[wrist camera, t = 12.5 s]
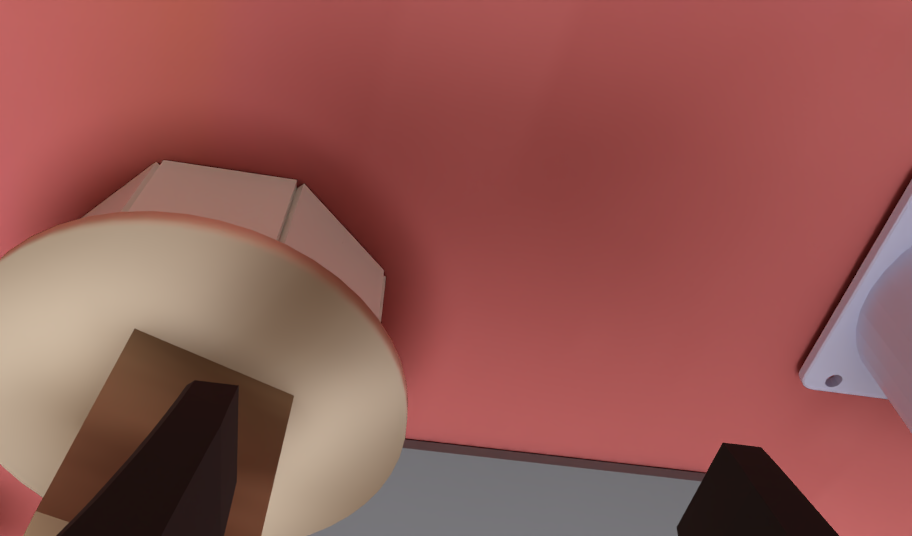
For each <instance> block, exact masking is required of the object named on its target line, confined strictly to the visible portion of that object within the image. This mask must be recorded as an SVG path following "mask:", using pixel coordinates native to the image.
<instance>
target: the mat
mask: <svg viewBox="0 0 912 536" xmlns="http://www.w3.org/2000/svg"><path fill="white" fill-rule="evenodd" d="M705 474H706V473H697V472H688V471H680V470H671V469H662V468H653V467H644V466H636V465H627V464H618V463H609V462H600V461H592V460H583V459H574V458H565V457H556V456H547V455H539V454H530V453H521V452H512V451H503V450H495V449H486V448H477V447H468V446H459V445H450V444H442V443H433V442H424V441H415V440H406V439H405V440H404V444H403V447H402V450H401V454H400V457H399V459H398V461H397V463H396V465H395V467H394V469H393V471H392V473H391V475H390V476H389V478H388V479H387V480H386V482H385V483H384V484H383V486H382V487H381V488H380V490H379V491H378V492H377V493H376V494H375V495H374V496H373V497H372V498H371V499H370V500H369V501H368V502H367V503H366V504H364V505H363V506H362V507H360V508H359V509H358V510H356V511H355V512H354V513H352V514H351V515H349V516H348V517H346V518H344V519H343V520H341V521H339V522H337V523H335V524H334V525H332V526H330V527H328V528H325V529H323V530H320V531H318V532H315V533H313V534H311V535H308V536H678V533H677V525H678V524H679V522H680V520H681V518H682V516H683V514H684V513H685V511H686V509H687V507H688V505H689V504H690V502H691V500H692V498H693V496H694V494H695V493H696V491H697V489H698V487H699V485H700V484H701V482H702V480H703V478H704V476H705Z"/></svg>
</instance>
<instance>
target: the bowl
mask: <svg viewBox="0 0 912 536" xmlns="http://www.w3.org/2000/svg"><path fill="white" fill-rule="evenodd" d="M135 211H158V212H170V213H181V214H190V215H195V216H200V217H205V218H210V219H215V220H220V221H224V222H227V223H231V224H234V225H237V226H240V227H244V228H247V229H250V230H253V231H256V232H258V233H261V234H263V235H265V236H268V237H270V238H272V239H275V240H277V241H279V242H282V243H284V244H286V245H288V246H290V247H292V248H293V249H295V250H297V251H299V252H301V253H302V254H304V255H306V256H308V257H309V258H311V259H313V260H315V261H316V262H317V263H319V264H320V265H322V266H323V267H324V268H326V269H327V270H329V271H330V272H331V273H333V274H334V275H336V276H337V277H338V278H340V279H341V280H342V281H343V282H344V283H345V284H346V285H347V286H348V287H349V288H351V289H352V290H353V291H354V292H355V293H356V294H357V295H358V296H359V297H360V298H361V299H362V300H363V301H364V302H365V303H366V305H367V306H368V307H369V308H370V309H371V311H372V312H373V313H374V314H375V315H376V316H377V318H378V319H379V321H380V322H381V317H382V308H383V299H384V290H385V281H386V276H384V270H383V269H382V268H381V266H380V265H379V264H378V263H377V262H376V261H375V260H374V259H373V258H372V257H371V256H370V255H369V253H368V252H367V251H366V250H365V249H364V248H363V247H362V246H361V245H360V244H359V243H358V242H357V240H356V239H355V238H354V237H353V236H352V235H351V234H350V233H349V232H348V231H347V230H346V228H345V227H344V226H343V225H342V224H341V223H340V222H339V221H338V220H337V219H336V218H335V217H334V215H333V214H332V213H331V212H330V211H329V210H328V209H327V208H326V207H325V206H324V205H323V203H322V202H321V201H320V200H319V199H318V198H317V197H316V196H315V195H314V194H313V193H312V192H311V190H310V189H309V188H308V187H307V186H306V185H305V184H303V185H301V186H300V187H298V188H297V180H295V179H288V178H281V177H274V176H268V175H261V174H254V173H248V172H241V171H234V170H228V169H221V168H214V167H208V166H201V165H194V164H188V163H181V162H174V161H168V160H163V161H162V163H161V164H160V165H159V164H158V163H157V162H155V163H153V164H152V165H151V166H150V167H148V168H147V169H146V170H144V171H143V172H142V173H140V174H139V175H138V176H136V177H135V178H134V179H132V180H131V181H130V182H128V183H127V184H126V185H124V186H123V187H122V188H120V189H119V190H118V191H116V192H115V193H114V194H112V195H111V196H110V197H108V198H107V199H106V200H104V201H103V202H102V203H100V204H99V205H98V206H96V207H95V208H94V209H92V210H91V211H90V212H88V213H87V214H86V215H84V216H83V217H82V218H84V217H88V216H94V215H101V214H108V213H115V212H135Z"/></svg>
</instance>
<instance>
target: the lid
mask: <svg viewBox="0 0 912 536" xmlns="http://www.w3.org/2000/svg"><path fill="white" fill-rule="evenodd" d="M194 380H198V381H206V382H214V383H223V384H231V385H239V399H238V450H237V483H236V487H235V491H234V496H233V500H232V504H231V509H230V513H229V517H228V521H227V526H226V530H225V534H224V536H308V535H311V534H313V533H315V532H318V531H320V530H323V529H325V528H328V527H330V526H332V525H334V524H335V523H337V522H339V521H341V520H343V519H344V518H346V517H348V516H349V515H351V514H352V513H354V512H355V511H356V510H358V509H359V508H360V507H362V506H363V505H364V504H366V503H367V502H368V501H369V500H370V499H371V498H372V497H373V496H374V495H375V494H376V493H377V492H378V491H379V490H380V488H381V487H382V486H383V484H384V483H385V482H386V480H387V479H388V478H389V476H390V475H391V473H392V471H393V469H394V467H395V465H396V463H397V461H398V459H399V457H400V454H401V450H402V447H403V444H404V440H405V433H406V424H407V410H408V397H407V384H406V379H405V375H404V371H403V367H402V363H401V360H400V358H399V355H398V353H397V351H396V349H395V346H394V344H393V342H392V340H391V338H390V336H389V335H388V333H387V332H386V330H385V328H384V327H383V325H382V324H381V322H380V321H379V319H378V318H377V316H376V315H375V314H374V313H373V312H372V311H371V309H370V308H369V307H368V306H367V305H366V303H365V302H364V301H363V300H362V299H361V298H360V297H359V296H358V295H357V294H356V293H355V292H354V291H353V290H352V289H351V288H349V287H348V286H347V285H346V284H345V283H344V282H343V281H342V280H341V279H340V278H338V277H337V276H336V275H334V274H333V273H331V272H330V271H329V270H327V269H326V268H324V267H323V266H322V265H320V264H319V263H317V262H316V261H315V260H313V259H311V258H309V257H308V256H306V255H304V254H302V253H301V252H299V251H297V250H295V249H293V248H292V247H290V246H288V245H286V244H284V243H282V242H279V241H277V240H275V239H272V238H270V237H268V236H265V235H263V234H261V233H258V232H256V231H253V230H250V229H247V228H244V227H240V226H237V225H234V224H231V223H227V222H224V221H220V220H215V219H210V218H205V217H200V216H195V215H190V214H181V213H170V212H158V211H135V212H115V213H108V214H101V215H94V216H88V217H84V218H80V219H77V220H73V221H70V222H66V223H62V224H59V225H56V226H54V227H52V228H49V229H47V230H45V231H43V232H40V233H38V234H36V235H33V236H31V237H30V238H28V239H27V240H25V241H24V242H22V243H20V244H19V245H17V246H16V247H14V248H13V249H11V250H10V251H8V252H7V253H6V254H5V255H4V256H3V257H2V258H1V259H0V464H1V465H2V466H3V467H4V468H5V469H6V470H7V471H9V472H10V473H11V474H12V475H13V476H14V477H16V478H17V479H18V480H19V481H20V482H21V483H23V484H24V485H26V486H27V487H28V488H30V489H31V490H33V491H34V492H36V493H37V494H38V495H40V496H41V497H43V499H42V501H41V502H40V504H39V506H38V508H37V510H36V512H35V514H34V516H33V518H32V520H31V522H30V524H29V526H28V528H27V530H26V532H25V534H24V536H56V535H57V534H58V533H59V532H60V531H61V530H62V529H63V528H64V527H65V526H66V525H67V524H68V523H69V522H70V521H71V520H72V519H73V518H74V517H75V516H76V515H77V514H78V513H79V512H80V511H81V510H82V509H83V508H84V507H85V506H86V505H87V504H88V503H89V502H90V501H91V499H92V498H93V497H94V496H95V495H96V494H97V493H98V492H99V491H100V490H101V488H102V487H103V486H104V485H105V484H106V483H107V482H108V481H109V479H110V478H111V477H112V476H113V475H114V474H115V473H116V472H117V471H118V469H119V468H120V467H121V466H122V465H123V464H124V463H125V462H126V461H127V459H128V458H129V457H130V456H131V455H132V454H133V452H134V451H135V450H136V449H137V448H138V447H139V445H140V444H141V443H142V442H143V441H144V439H145V438H146V437H147V436H148V435H149V433H150V432H151V431H152V430H153V428H154V427H155V426H156V425H157V424H158V422H159V421H160V420H161V419H162V417H163V416H164V415H165V413H166V412H167V411H168V410H169V408H170V407H171V406H172V404H173V403H174V402H175V400H176V399H177V398H178V396H179V395H180V394H181V392H182V391H183V389H184V388H185V387H186V385H188V384H189V383H191V382H193V381H194Z"/></svg>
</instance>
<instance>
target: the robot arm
mask: <svg viewBox="0 0 912 536" xmlns="http://www.w3.org/2000/svg"><path fill="white" fill-rule="evenodd" d="M833 375H834V376H833ZM830 376H833V377H831V378H828V377H830ZM799 378H800V380H801V382H802V383H803V385H804V386H805V387H806V388H808V389H812V390H820V391H827V392H835V393H843V394H851V395H858V396H866V397H874V398H882V399H888V400H889V401H890V403H891V404H892V406H893V407H894V408H895V410H896V411H897V413H898V414H899V416H900V417H901V419H902V420H903V421H904V423H905V424H906V426H907V427H908V429H909V430H910V432H911V433H912V180H911V182H910V183H909V185H908V187H907V188H906V190H905V192H904V193H903V195H902V197H901V199H900V200H899V202H898V204H897V205H896V207H895V209H894V210H893V212H892V214H891V216H890V217H889V219H888V221H887V222H886V224H885V226H884V228H883V229H882V231H881V233H880V234H879V236H878V238H877V239H876V241H875V243H874V245H873V246H872V248H871V250H870V251H869V253H868V255H867V257H866V258H865V260H864V262H863V263H862V265H861V267H860V268H859V270H858V272H857V274H856V275H855V277H854V279H853V280H852V282H851V284H850V286H849V287H848V289H847V291H846V292H845V294H844V296H843V297H842V299H841V301H840V303H839V304H838V306H837V308H836V309H835V311H834V313H833V314H832V316H831V318H830V320H829V321H828V323H827V325H826V326H825V328H824V330H823V332H822V333H821V335H820V337H819V338H818V340H817V342H816V343H815V345H814V347H813V349H812V350H811V352H810V354H809V355H808V357H807V359H806V361H805V362H804V364H803V366H802V367H801V369H800V372H799ZM238 399H239V385H231V384H223V383H214V382H206V381H198V380H194V381H193V382H191V383H189V384H188V385H186V387H185V388H184V389H183V391H182V392H181V394H180V395H179V396H178V398H177V399H176V400H175V402H174V403H173V404H172V406H171V407H170V408H169V410H168V411H167V412H166V413H165V415H164V416H163V417H162V419H161V420H160V421H159V422H158V424H157V425H156V426H155V427H154V428H153V430H152V431H151V432H150V433H149V435H148V436H147V437H146V438H145V439H144V441H143V442H142V443H141V444H140V445H139V447H138V448H137V449H136V450H135V451H134V452H133V454H132V455H131V456H130V457H129V458H128V459H127V461H126V462H125V463H124V464H123V465H122V466H121V467H120V468H119V469H118V471H117V472H116V473H115V474H114V475H113V476H112V477H111V478H110V479H109V481H108V482H107V483H106V484H105V485H104V486H103V487H102V488H101V490H100V491H99V492H98V493H97V494H96V495H95V496H94V497H93V498H92V499H91V501H90V502H89V503H88V504H87V505H86V506H85V507H84V508H83V509H82V510H81V511H80V512H79V513H78V514H77V515H76V516H75V517H74V518H73V519H72V520H71V521H70V522H69V523H68V524H67V525H66V526H65V527H64V528H63V529H62V530H61V531H60V532H59V533H58V534H57V535H56V536H224V534H225V530H226V526H227V521H228V517H229V513H230V509H231V504H232V500H233V496H234V491H235V487H236V483H237V450H238ZM677 533H678V536H839V535H838V534H837V533H836V532H835V530H834V529H833V528H832V527H831V526H830V525H829V524H828V522H827V521H826V520H825V519H824V518H823V517H822V516H821V514H820V513H819V512H818V511H817V510H816V509H815V507H814V506H813V505H812V504H811V503H810V502H809V501H808V499H807V498H806V497H805V496H804V495H803V494H802V493H801V491H800V490H799V489H798V488H797V487H796V486H795V485H794V483H793V482H792V481H791V480H790V479H789V478H788V477H787V475H786V474H785V473H784V472H783V471H782V470H781V469H780V467H779V466H778V465H777V464H776V463H775V462H774V461H773V460H772V459H771V458H770V456H769V455H768V454H767V453H766V452H765V451H764V450H763V449H762V448H761V447H754V446H746V445H737V444H729V443H722V445H721V447H720V449H719V451H718V453H717V454H716V456H715V458H714V460H713V462H712V463H711V465H710V467H709V469H708V471H707V473H706V474H705V476H704V478H703V480H702V482H701V484H700V485H699V487H698V489H697V491H696V493H695V494H694V496H693V498H692V500H691V502H690V504H689V505H688V507H687V509H686V511H685V513H684V514H683V516H682V518H681V520H680V522H679V524H678V525H677Z"/></svg>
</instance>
